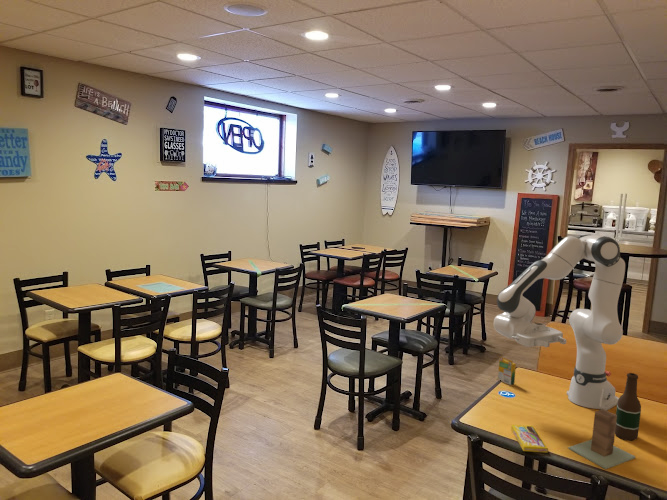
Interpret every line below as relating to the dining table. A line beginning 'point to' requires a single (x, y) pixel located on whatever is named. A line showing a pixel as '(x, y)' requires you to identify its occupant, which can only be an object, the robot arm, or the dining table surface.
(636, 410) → the beer bottle
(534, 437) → the candy box
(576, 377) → the robot arm
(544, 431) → the dining table surface
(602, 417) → the walnut block
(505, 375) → the crayon box
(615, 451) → the mat
